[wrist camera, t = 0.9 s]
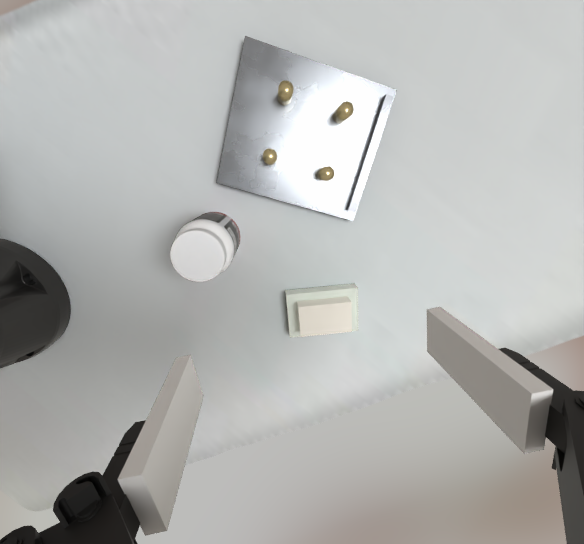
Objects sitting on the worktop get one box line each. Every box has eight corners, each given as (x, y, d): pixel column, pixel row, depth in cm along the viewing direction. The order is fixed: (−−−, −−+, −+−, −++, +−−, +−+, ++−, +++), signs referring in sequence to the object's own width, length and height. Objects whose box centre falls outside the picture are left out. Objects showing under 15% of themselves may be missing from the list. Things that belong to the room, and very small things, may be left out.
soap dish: (289, 331, 39) (290, 345, 36) (285, 290, 37) (286, 300, 34) (354, 324, 40) (362, 337, 36) (354, 283, 38) (362, 293, 34)
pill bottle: (183, 243, 35) (151, 266, 25) (206, 201, 33) (181, 210, 24) (226, 267, 36) (210, 298, 26) (249, 228, 35) (242, 246, 25)
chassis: (218, 182, 33) (211, 183, 29) (246, 41, 29) (242, 19, 25) (350, 219, 35) (360, 224, 31) (392, 93, 31) (409, 80, 27)
